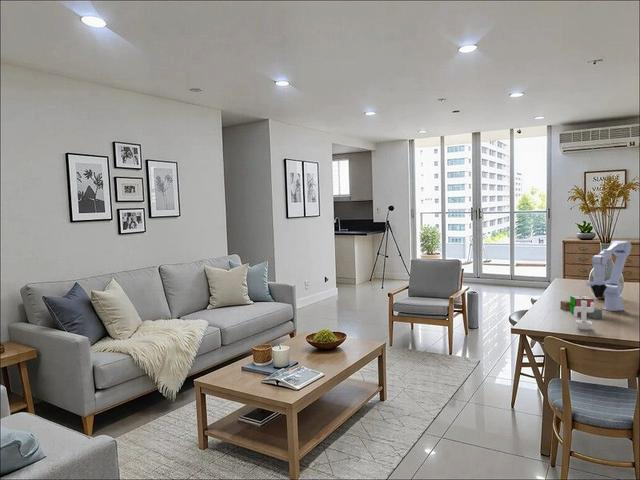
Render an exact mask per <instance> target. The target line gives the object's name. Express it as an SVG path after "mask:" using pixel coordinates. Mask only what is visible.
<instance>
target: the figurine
mask: <svg viewBox="0 0 640 480" xmlns="http://www.w3.org/2000/svg"><path fill="white" fill-rule="evenodd" d="M594 308H595V302H591V306H590V307H587V301H581V307H574V314H573V317H575V318H577V317H578V315H577V312H581V315H580V319H575V322H576V325H577V327H578V329H579V330H586V331H589V330H590V328H591V327H592V325H593V322H592V321H591V320H587V316H588V315H587V312H590V313H592V312H594Z"/></svg>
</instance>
